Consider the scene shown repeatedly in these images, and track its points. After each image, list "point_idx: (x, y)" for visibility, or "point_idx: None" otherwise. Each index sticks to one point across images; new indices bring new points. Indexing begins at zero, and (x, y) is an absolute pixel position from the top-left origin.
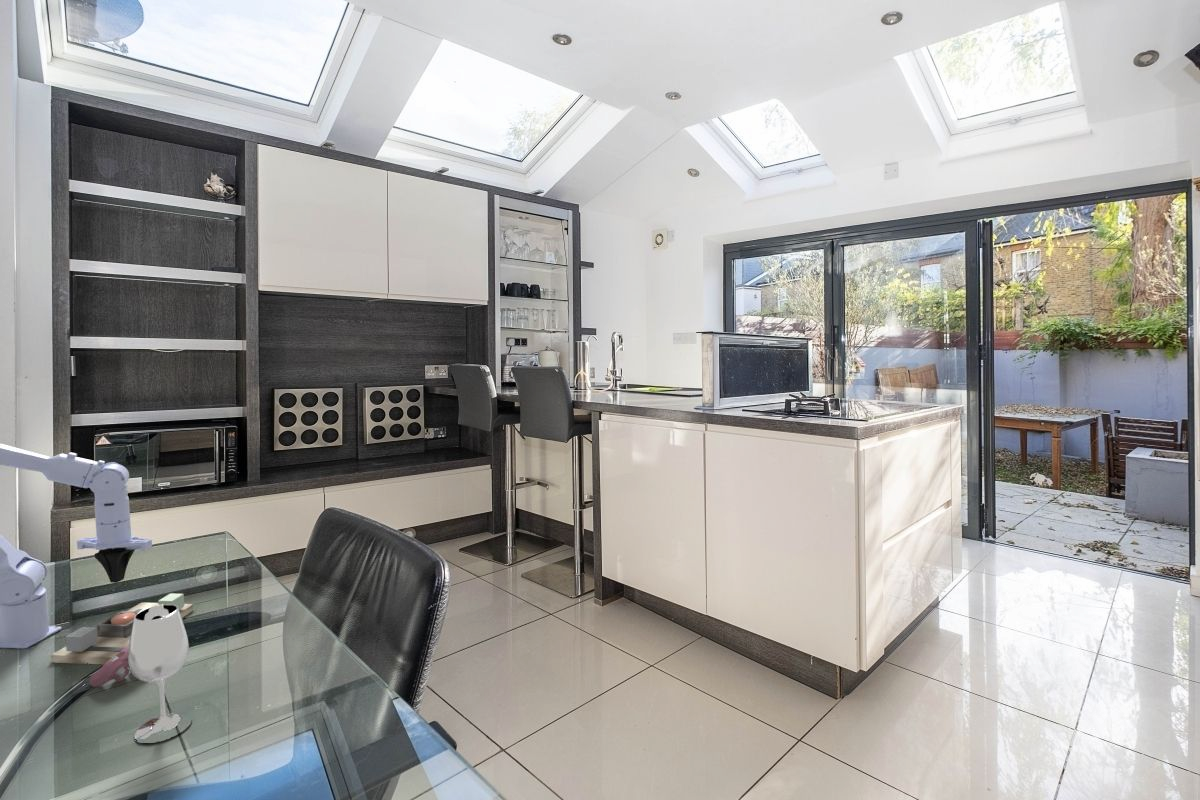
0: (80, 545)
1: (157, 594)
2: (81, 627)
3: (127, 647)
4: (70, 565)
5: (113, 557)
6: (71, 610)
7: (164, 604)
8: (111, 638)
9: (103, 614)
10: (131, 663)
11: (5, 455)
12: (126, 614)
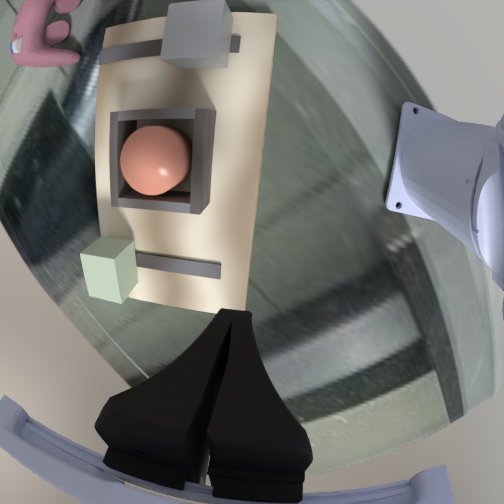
0: (433, 492)
1: None
2: (217, 55)
3: (26, 6)
4: (449, 418)
5: (133, 407)
6: (410, 304)
7: (103, 250)
8: (167, 103)
9: (327, 283)
10: None
11: None
12: (153, 180)
